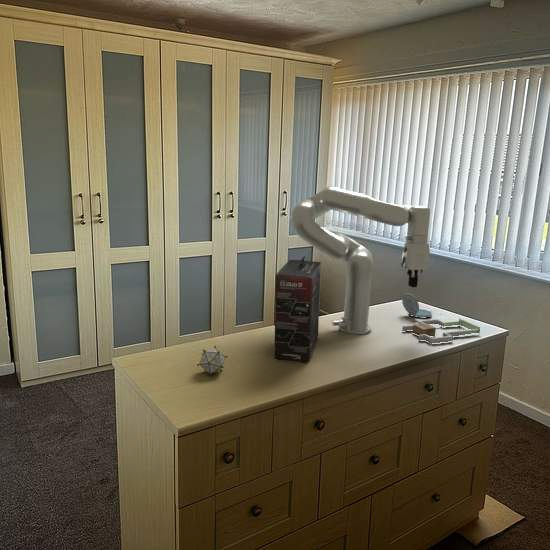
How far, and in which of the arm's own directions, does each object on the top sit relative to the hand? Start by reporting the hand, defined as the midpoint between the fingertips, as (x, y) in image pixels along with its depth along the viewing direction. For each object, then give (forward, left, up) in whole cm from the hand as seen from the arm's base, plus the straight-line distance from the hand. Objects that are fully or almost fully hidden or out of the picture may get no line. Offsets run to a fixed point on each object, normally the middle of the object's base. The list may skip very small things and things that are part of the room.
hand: (412, 286), depth 196 cm
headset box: (-48, -3, -20) cm, 52 cm away
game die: (-81, -15, -20) cm, 85 cm away
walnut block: (+6, -2, -20) cm, 20 cm away
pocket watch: (+20, +21, -20) cm, 35 cm away
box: (+14, -2, -19) cm, 24 cm away
